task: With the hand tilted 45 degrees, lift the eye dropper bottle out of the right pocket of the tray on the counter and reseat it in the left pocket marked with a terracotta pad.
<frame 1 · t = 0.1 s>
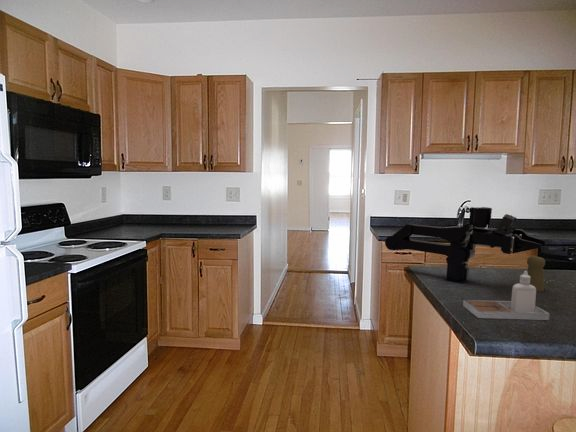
hand: (543, 244, 123), 17 cm above the countertop, tool horizontal, fingers open, 9 cm apart
cork: (533, 289, 132), on the countertop
tray: (504, 312, 108), on the countertop
eye dropper bottle: (522, 313, 108), resting in tray
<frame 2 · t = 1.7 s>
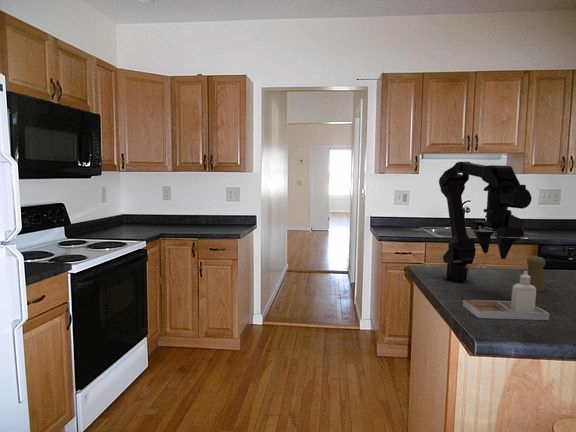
hand: (494, 256, 122), 13 cm above the countertop, tool pointing down, fingers open, 9 cm apart
nothing on the countertop moved.
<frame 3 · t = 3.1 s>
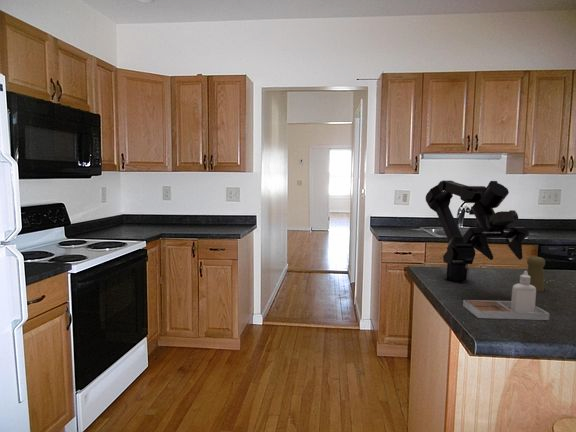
hand: (506, 259, 115), 13 cm above the countertop, tool tilted 45°, fingers open, 9 cm apart
nothing on the countertop moved.
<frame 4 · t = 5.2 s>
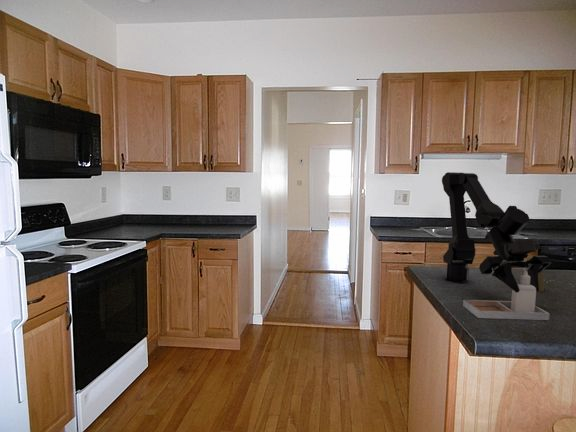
hand: (527, 291, 106), 7 cm above the countertop, tool tilted 45°, fingers closed on eye dropper bottle, 5 cm apart
eye dropper bottle: (522, 313, 108), resting in tray, touching gripper
everything else where it was.
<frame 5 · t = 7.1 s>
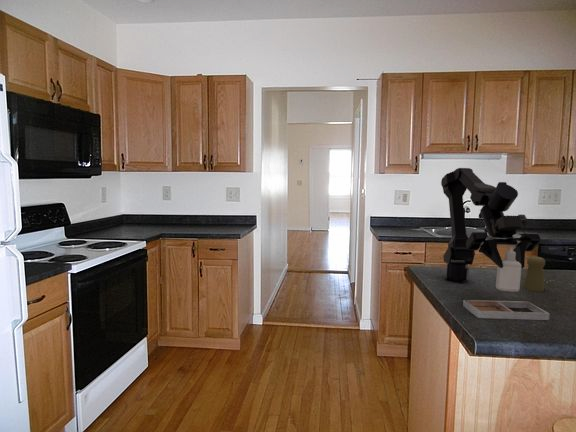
hand: (512, 267, 105), 13 cm above the countertop, tool tilted 45°, fingers closed on eye dropper bottle, 5 cm apart
eye dropper bottle: (507, 290, 108), point 6 cm above the countertop, touching gripper
everything else where it was.
when the fingers open (8 cm above the countertop, at t = 8.8 s): eye dropper bottle drops 1 cm, resting on tray.
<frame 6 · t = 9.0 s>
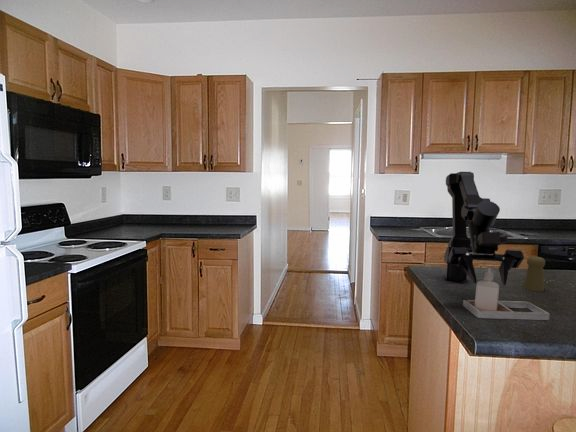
hand: (490, 283, 106), 9 cm above the countertop, tool tilted 45°, fingers open, 7 cm apart
eye dropper bottle: (485, 311, 109), resting on tray
everything else where it was.
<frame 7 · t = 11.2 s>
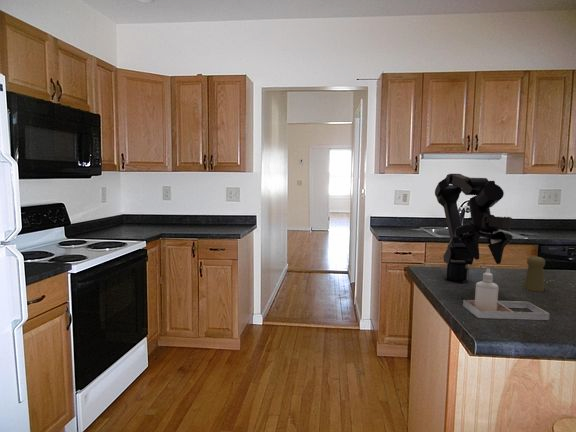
hand: (488, 261, 118), 12 cm above the countertop, tool tilted 30°, fingers open, 9 cm apart
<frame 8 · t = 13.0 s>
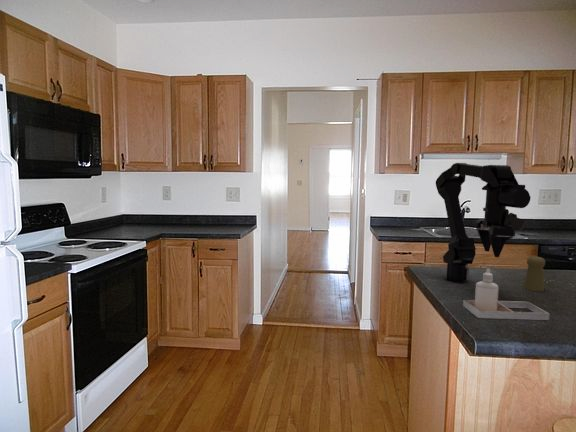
hand: (491, 254, 124), 13 cm above the countertop, tool pointing down, fingers open, 9 cm apart
nothing on the countertop moved.
at the end: eye dropper bottle 0.3 cm from the target spot, resting on tray; eye dropper bottle tilted 0°; the gripper is holding nothing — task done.
